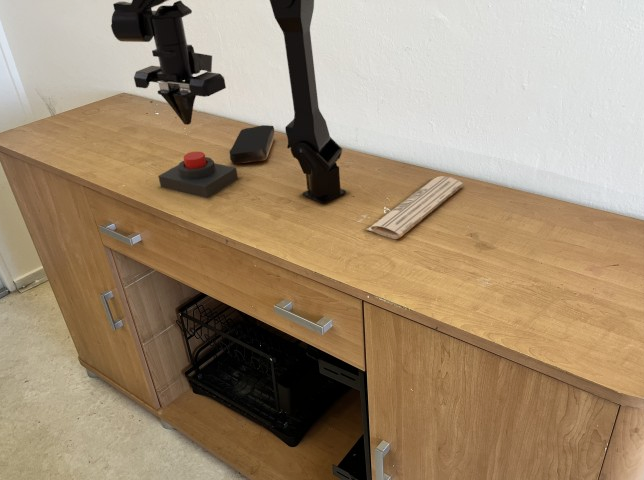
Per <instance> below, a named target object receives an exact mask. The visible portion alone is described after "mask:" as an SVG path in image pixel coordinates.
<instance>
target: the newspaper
mask: <svg viewBox="0 0 644 480" xmlns="http://www.w3.org/2000/svg"><path fill="white" fill-rule="evenodd" d="M463 186H464V182H462V181H461V180H459V179H456V178H453V177H451V176H443V175H441V176H436V177H435V178H433V179H432V180H430V181H429V182H427V183H426V184H425V185H423V186H422V187H421V188H419V189H418V190H417V191H415V192H414V193H413V194H411V195H410V196H409V197H408V198H406V199H405V200H404V201H402V202H401V203H399V204H398V205H397V206H396V207H394V208H392V210H390V211H388V213H387V214H385V215H384V216H382V217H381V218H380V219H378V220H377V221H376V222H375V223H373V224H372V225H371V226H369V227H368V228H366V231H370V232H372V233H375V234H377V235H380V236H382V237H386V238H390V239H394V240H398V239H400V238H402V237H403V236H404V235H405V234H407V232H409V231H410V230H411V229H412V228H414V227H415V226H416V225H417V224H419V223H420V222H421V221H423V219H425V217H427V216H428V215H430V214H431V213H432V212H433V211H435V209H437V208H438V207H439V206H440V205H442V204H443V203H444V202H445V201H446V200H448V199H449V198H450V197H451V196H452V195H454V194H455V193H456V192H458V191H459V190H460V189H461V188H463Z"/></svg>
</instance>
